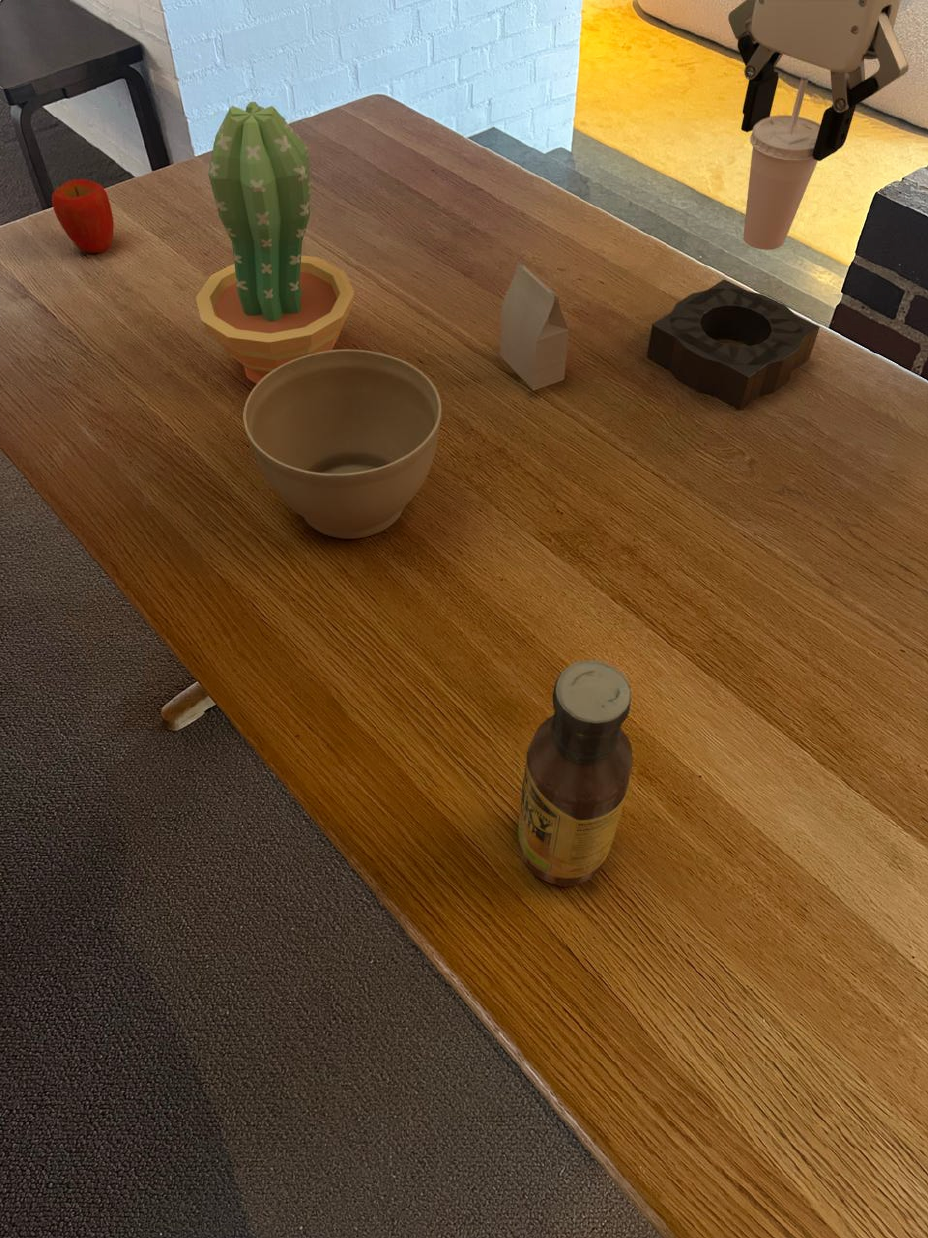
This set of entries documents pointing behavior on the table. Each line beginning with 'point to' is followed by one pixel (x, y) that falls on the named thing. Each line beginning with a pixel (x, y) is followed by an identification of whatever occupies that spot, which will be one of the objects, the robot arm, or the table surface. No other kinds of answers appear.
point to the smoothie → (778, 174)
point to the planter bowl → (344, 437)
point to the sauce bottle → (576, 775)
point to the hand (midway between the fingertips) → (789, 138)
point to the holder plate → (723, 367)
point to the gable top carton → (533, 331)
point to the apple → (85, 214)
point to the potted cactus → (268, 249)
